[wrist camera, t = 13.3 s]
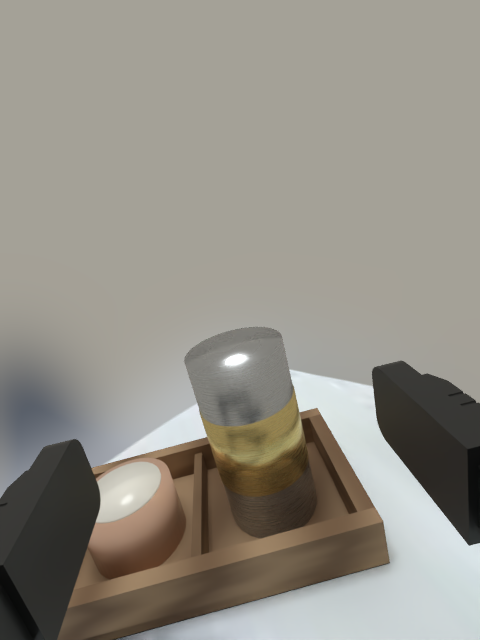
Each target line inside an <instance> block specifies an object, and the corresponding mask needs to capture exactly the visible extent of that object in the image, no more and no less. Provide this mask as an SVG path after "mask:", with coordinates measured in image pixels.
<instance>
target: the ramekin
mask: <svg viewBox="0 0 480 640" xmlns="http://www.w3.org/2000/svg"><path fill="white" fill-rule="evenodd" d="M96 481H97V483H98V486H99V490H100V498H101V502H100V510H99V513H98V517H97V520H96V523H95V526H94V529H93V532H92V535H91V538H90V541H89V544H88V547H87V548H88V550H89V552H90V554H91V556H92V558H93V560H94V563H95V565H96V567H97V569H98V571H99V572H100V573H101V575H103V576H104V577H105V578H108V579H110V580H111V579H115V578H118V577H122V576H126V575H129V574H133V573H137V572H140V571H144V570H148V569H151V568H155V567H158V566H160V565H161V564H162V563H164V562H165V561H166V560H167V559H168V558H169V557H170V556H171V555H172V553H173V552H174V551H175V550H176V548H177V547H178V545H179V544H180V542H181V540H182V538H183V535H184V532H185V529H186V516H185V513H184V510H183V507H182V504H181V502H180V499H179V496H178V493H177V491H176V488H175V485H174V482H173V479H172V477H171V474H170V471H169V468H168V466H167V465H166V464H165V463H164V462H162V461H161V460H158V459H155V458H139V459H134V460H130V461H127V462H124V463H121V464H119V465H117V466H115V467H113V468H111V469H109V470H108V471H106V472H105V473H103V474H102V475H100V476H99V477H98V478H96Z"/></svg>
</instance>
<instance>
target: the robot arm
mask: <svg viewBox="0 0 480 640" xmlns="http://www.w3.org/2000/svg"><path fill="white" fill-rule="evenodd" d="M372 379H373V388H374V398H375V407H376V416H377V421H378V425H379V428H380V430H381V433H382V435H383V437H384V438H385V440H386V441H387V442H388V444H389V445H390V446H391V448H392V449H393V450H394V451H395V453H396V454H397V455H398V456H399V458H400V459H401V460H402V461H403V463H404V464H405V465H406V466H407V468H408V469H409V470H410V472H411V473H412V474H413V475H414V477H415V478H416V479H417V480H418V482H419V483H420V484H421V485H422V487H423V488H424V489H425V491H426V492H427V493H428V494H429V496H430V497H431V498H432V499H433V501H434V502H435V503H436V504H437V506H438V507H439V508H440V509H441V511H442V512H443V513H444V515H445V516H446V517H447V518H448V520H449V521H450V522H451V523H452V525H453V526H454V527H455V528H456V530H457V531H458V532H459V533H460V535H461V536H462V537H463V539H464V540H465V541H466V542H467V544H468V545H469V546H470V545H473V544H477V543H480V403H476V401H475V400H474V399H473V398H471V397H470V396H469V395H467V394H463V391H461V390H460V389H459V388H457V387H456V386H454V385H453V384H452V383H450V382H449V381H447V380H444V379H441V378H438V377H436V376H432V375H430V374H424V375H421V374H420V373H418V372H417V371H416V370H415V369H413V368H412V367H411V366H409V365H408V364H406V363H405V362H404V361H398V362H394V363H389V364H385V365H381V366H377V367H374V369H373V371H372ZM100 502H101V498H100V490H99V486H98V483H97V481H96V478H95V476H94V474H93V471H92V469H91V466H90V464H89V462H88V459H87V457H86V454H85V452H84V449H83V447H82V445H81V443H80V442H79V441H78V440H76V439H73V440H69V441H65V442H61V443H57V444H52V445H48V446H46V447H44V448H43V449H42V451H41V452H40V454H39V455H38V457H37V458H36V460H35V461H34V463H33V465H32V466H31V468H30V469H29V470H28V471H25V472H24V473H23V474H22V475H21V476H20V477H19V478H18V479H17V480H16V481H14V482H13V483H12V484H11V485H10V486H9V487H8V488H7V490H6V491H5V492H4V494H3V496H2V497H1V498H0V640H57V639H58V636H59V632H60V629H61V626H62V623H63V620H64V617H65V614H66V611H67V608H68V605H69V602H70V599H71V596H72V593H73V590H74V587H75V584H76V581H77V578H78V575H79V571H80V568H81V565H82V562H83V559H84V556H85V553H86V550H87V547H88V544H89V541H90V538H91V535H92V532H93V529H94V526H95V523H96V520H97V517H98V513H99V510H100Z"/></svg>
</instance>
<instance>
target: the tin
mask: <svg viewBox="0 0 480 640" xmlns="http://www.w3.org/2000/svg"><path fill="white" fill-rule="evenodd" d="M185 365H186V368H187V371H188V374H189V378H190V381H191V384H192V387H193V390H194V394H195V397H196V400H197V403H198V406H199V411H200V415H201V418H202V422H203V425H204V428H205V431H206V434H207V437H208V441H209V444H210V447H211V450H212V453H213V456H214V459H215V463H216V466H217V469H218V472H219V475H220V478H221V481H222V482H223V485H224V489H225V492H226V495H227V498H228V501H229V504H230V507H231V511H232V514H233V517H234V520H235V522H236V524H237V525H238V526H239V528H240V529H241V530H243V531H244V532H245V533H247V534H248V535H251V536H253V537H256V538H264V537H268V536H272V535H275V534H279V533H283V532H286V531H290V530H294V529H297V528H301V527H303V526H304V525H305V524H306V523H307V522H308V521H309V520H310V519H311V517H312V515H313V514H314V511H315V509H316V504H317V495H316V490H315V485H314V481H313V476H312V472H311V467H310V462H309V456H308V450H307V445H306V441H305V436H304V432H303V427H302V422H301V418H300V413H299V409H298V404H297V400H296V395H295V390H294V386H293V384H292V380H291V376H290V371H289V367H288V363H287V358H286V353H285V349H284V344H283V339H282V336H281V334H280V333H279V332H278V331H277V330H274V329H271V328H265V327H249V328H241V329H236V330H231V331H228V332H225V333H221V334H218V335H215V336H213V337H211V338H208V339H206V340H205V341H202V342H201V343H199V344H198V345H196V346H195V347H193V348H192V349H191V350H190V351H189V352H188V353H187V355H186V356H185Z"/></svg>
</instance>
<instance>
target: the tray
mask: <svg viewBox="0 0 480 640" xmlns="http://www.w3.org/2000/svg"><path fill="white" fill-rule="evenodd" d="M300 418H301V422H302V427H303V432H304V436H305V441H306V445H307V450H308V456H309V462H310V467H311V472H312V476H313V481H314V485H315V490H316V495H317V504H316V509H315V511H314V514H313V515H312V517H311V519H310V520H309V521H308V522H307V523H306V524H305V525H304V526H303V527H301V528H297V529H294V530H290V531H286V532H283V533H279V534H275V535H272V536H268V537H264V538H256V537H253V536H251V535H248V534H247V533H245V532H244V531H243V530H241V529H240V528H239V526H238V525H237V524H236V522H235V520H234V517H233V514H232V511H231V507H230V504H229V501H228V498H227V495H226V492H225V489H224V485H223V482H222V481H221V478H220V475H219V472H218V469H217V466H216V463H215V459H214V456H213V453H212V450H211V447H210V444H209V441H208V437H206V438H202V439H199V440H195V441H191V442H187V443H184V444H180V445H176V446H172V447H169V448H165V449H161V450H157V451H154V452H150V453H146V454H142V455H138V456H135V457H131V458H127V459H123V460H120V461H116V462H112V463H108V464H105V465H101V466H97V467H93V468H91V469H92V471H93V474H94V476H95V478H98V477H99V476H100V475H102V474H103V473H105V472H106V471H108V470H109V469H111V468H113V467H115V466H117V465H119V464H121V463H124V462H127V461H130V460H134V459H139V458H155V459H158V460H161V461H162V462H164V463H165V464H166V465H167V466H168V468H169V471H170V474H171V477H172V479H173V482H174V485H175V488H176V491H177V493H178V496H179V499H180V502H181V504H182V507H183V510H184V513H185V516H186V529H185V532H184V535H183V538H182V540H181V542H180V544H179V545H178V547H177V548H176V550H175V551H174V552H173V553H172V555H171V556H170V557H169V558H168V559H167V560H166V561H165V562H164V563H162V564H161V565H160V566H158V567H155V568H151V569H148V570H144V571H140V572H137V573H133V574H129V575H126V576H122V577H118V578H115V579H111V580H110V579H108V578H105V577H104V576H103V575H101V573H100V572H99V571H98V569H97V567H96V565H95V563H94V560H93V558H92V556H91V554H90V552H89V550H88V548H87V550H86V553H85V556H84V559H83V562H82V565H81V568H80V571H79V575H78V578H77V581H76V584H75V587H74V590H73V593H72V596H71V599H70V602H69V605H68V608H67V611H66V614H65V617H64V620H63V623H62V626H61V629H60V632H59V636H58V639H57V640H113V639H117V638H120V637H124V636H128V635H131V634H135V633H138V632H142V631H146V630H149V629H153V628H156V627H160V626H164V625H167V624H171V623H174V622H178V621H182V620H185V619H189V618H192V617H196V616H200V615H203V614H207V613H210V612H214V611H218V610H221V609H225V608H228V607H232V606H236V605H239V604H243V603H246V602H250V601H254V600H257V599H261V598H264V597H268V596H272V595H275V594H279V593H282V592H286V591H290V590H293V589H297V588H300V587H304V586H308V585H311V584H315V583H318V582H322V581H326V580H329V579H333V578H336V577H340V576H344V575H347V574H351V573H354V572H358V571H362V570H365V569H369V568H373V567H376V566H380V565H383V564H387V563H390V562H389V556H388V550H387V543H386V537H385V530H384V524H383V520H382V519H381V517H380V515H379V514H378V512H377V510H376V508H375V507H374V505H373V503H372V502H371V500H370V498H369V496H368V495H367V493H366V491H365V490H364V488H363V486H362V484H361V483H360V481H359V479H358V477H357V476H356V474H355V472H354V471H353V469H352V467H351V465H350V464H349V462H348V460H347V459H346V457H345V455H344V453H343V452H342V450H341V448H340V447H339V445H338V443H337V441H336V440H335V438H334V436H333V434H332V433H331V431H330V429H329V428H328V426H327V424H326V422H325V421H324V419H323V417H322V416H321V414H320V412H319V410H318V409H317V408H315V409H311V410H307V411H304V412H300Z"/></svg>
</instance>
